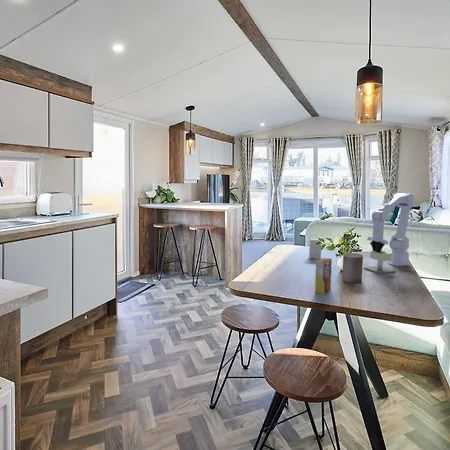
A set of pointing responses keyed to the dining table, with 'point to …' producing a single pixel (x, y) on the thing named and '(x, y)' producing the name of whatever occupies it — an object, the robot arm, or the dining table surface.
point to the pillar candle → (352, 267)
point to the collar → (381, 255)
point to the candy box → (323, 275)
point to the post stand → (380, 269)
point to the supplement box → (315, 249)
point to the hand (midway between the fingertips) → (376, 254)
